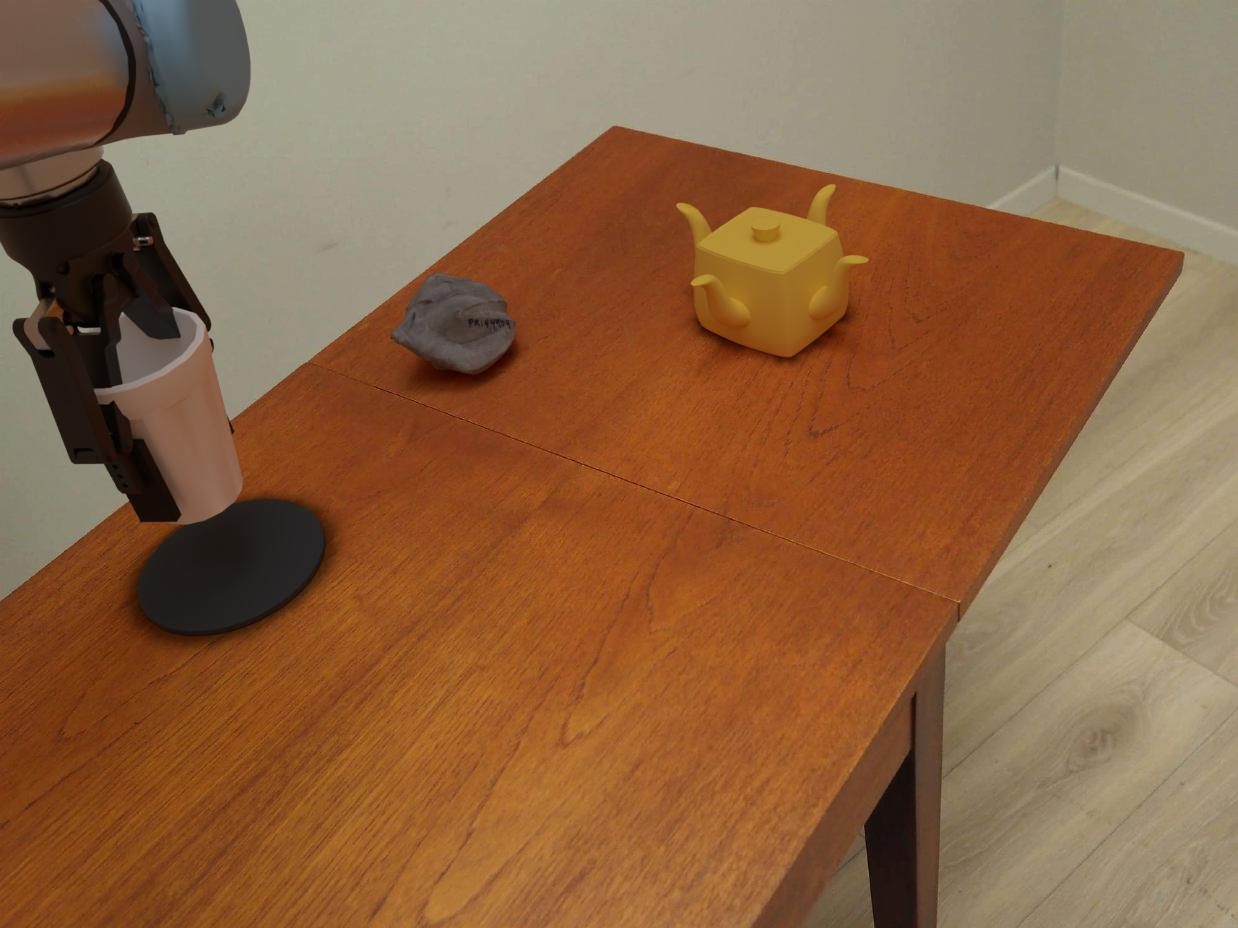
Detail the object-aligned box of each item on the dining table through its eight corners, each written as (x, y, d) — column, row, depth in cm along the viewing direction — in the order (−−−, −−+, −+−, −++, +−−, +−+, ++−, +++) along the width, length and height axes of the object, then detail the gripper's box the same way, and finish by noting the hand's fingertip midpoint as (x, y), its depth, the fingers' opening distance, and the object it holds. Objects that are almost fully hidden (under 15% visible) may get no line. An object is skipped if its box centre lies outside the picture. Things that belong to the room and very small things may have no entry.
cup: (297, 464, 85) (235, 312, 77) (214, 558, 78) (136, 402, 70) (190, 446, 89) (120, 299, 81) (101, 534, 82) (15, 384, 74)
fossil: (456, 410, 99) (434, 331, 94) (384, 382, 104) (359, 305, 99) (541, 343, 105) (523, 265, 100) (469, 319, 110) (449, 244, 105)
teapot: (870, 353, 97) (869, 250, 91) (701, 377, 98) (689, 276, 92) (837, 266, 108) (834, 169, 102) (686, 288, 109) (674, 193, 103)
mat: (212, 664, 80) (209, 659, 80) (103, 589, 88) (100, 584, 88) (363, 541, 88) (361, 537, 87) (251, 482, 96) (249, 477, 95)
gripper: (1, 268, 59) (172, 583, 74) (180, 98, 75) (292, 384, 89) (-125, 275, 61) (67, 582, 75) (77, 107, 77) (203, 387, 91)
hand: (189, 474), depth 82 cm, fingers closed on cup, 8 cm apart
